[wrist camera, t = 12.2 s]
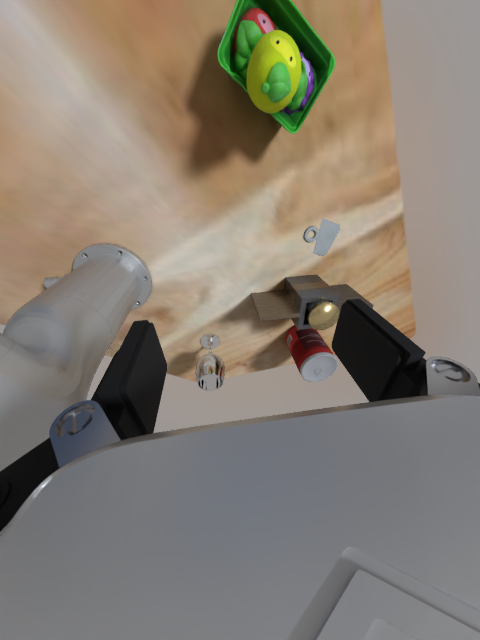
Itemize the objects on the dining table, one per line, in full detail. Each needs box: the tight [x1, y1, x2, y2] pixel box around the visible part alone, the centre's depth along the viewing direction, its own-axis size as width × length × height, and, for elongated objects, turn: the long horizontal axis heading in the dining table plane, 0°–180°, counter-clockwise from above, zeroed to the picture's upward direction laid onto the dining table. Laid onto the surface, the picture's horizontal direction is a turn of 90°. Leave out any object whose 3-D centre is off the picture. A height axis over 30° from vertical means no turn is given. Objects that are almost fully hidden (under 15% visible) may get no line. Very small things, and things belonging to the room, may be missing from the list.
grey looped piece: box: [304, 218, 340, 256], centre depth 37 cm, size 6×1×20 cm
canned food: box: [286, 326, 338, 382], centre depth 47 cm, size 8×8×11 cm
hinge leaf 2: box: [285, 275, 374, 330], centre depth 41 cm, size 13×6×9 cm, turn 93°
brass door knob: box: [306, 301, 340, 330], centre depth 40 cm, size 5×5×10 cm
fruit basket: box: [217, 0, 335, 134], centre depth 23 cm, size 11×9×11 cm
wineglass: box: [196, 334, 225, 391], centre depth 44 cm, size 6×6×12 cm
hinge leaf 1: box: [251, 281, 330, 321], centre depth 41 cm, size 13×6×9 cm, turn 93°
